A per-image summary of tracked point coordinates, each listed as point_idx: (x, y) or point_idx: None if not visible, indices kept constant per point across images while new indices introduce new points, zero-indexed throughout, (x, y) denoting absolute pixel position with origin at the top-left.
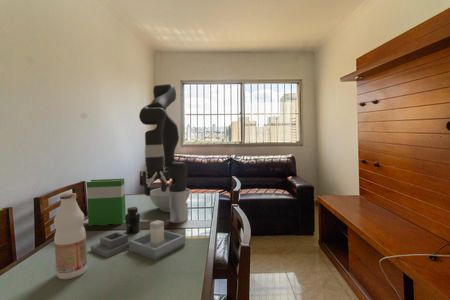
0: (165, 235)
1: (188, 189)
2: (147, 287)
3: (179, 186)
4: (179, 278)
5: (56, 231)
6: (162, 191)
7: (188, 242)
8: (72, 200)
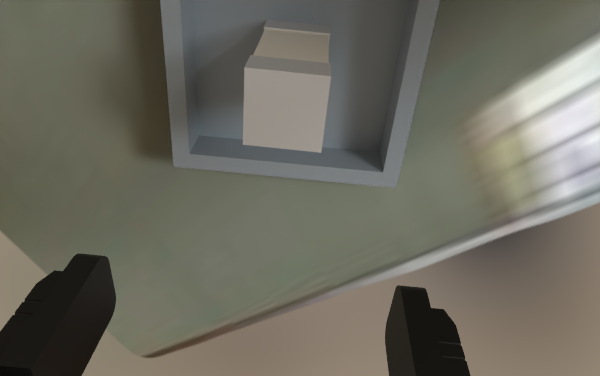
0: (407, 28)
1: None
2: (53, 238)
3: None
4: (154, 285)
5: None
6: (393, 298)
7: (423, 160)
8: None
